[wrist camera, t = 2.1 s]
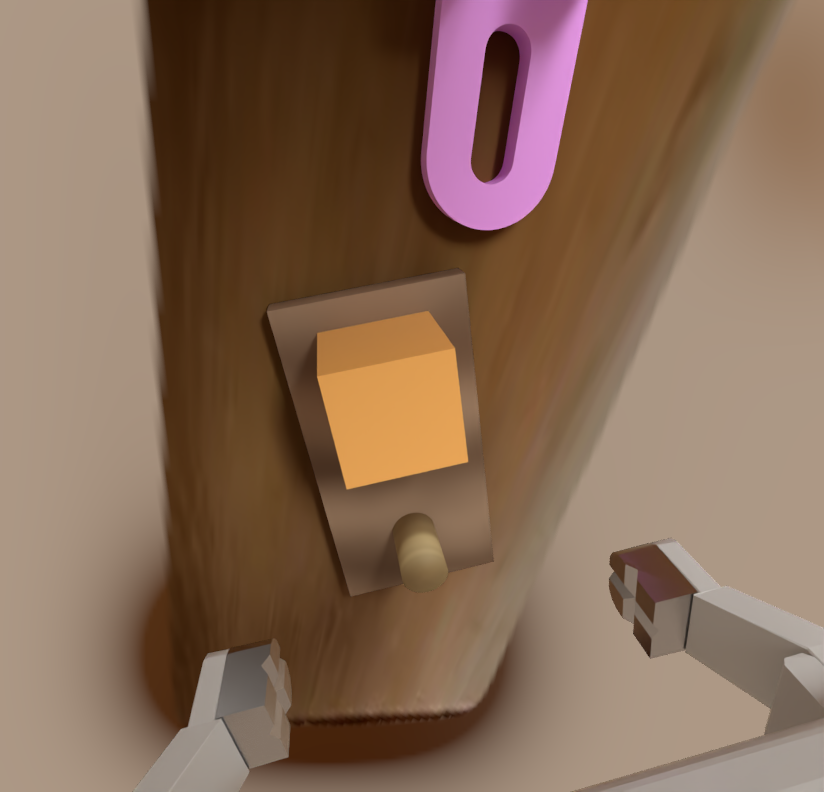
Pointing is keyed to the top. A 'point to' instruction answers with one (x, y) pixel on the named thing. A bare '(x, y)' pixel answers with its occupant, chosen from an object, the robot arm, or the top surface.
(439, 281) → the peg board
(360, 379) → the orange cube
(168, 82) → the top surface
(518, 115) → the bracket
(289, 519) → the top surface
